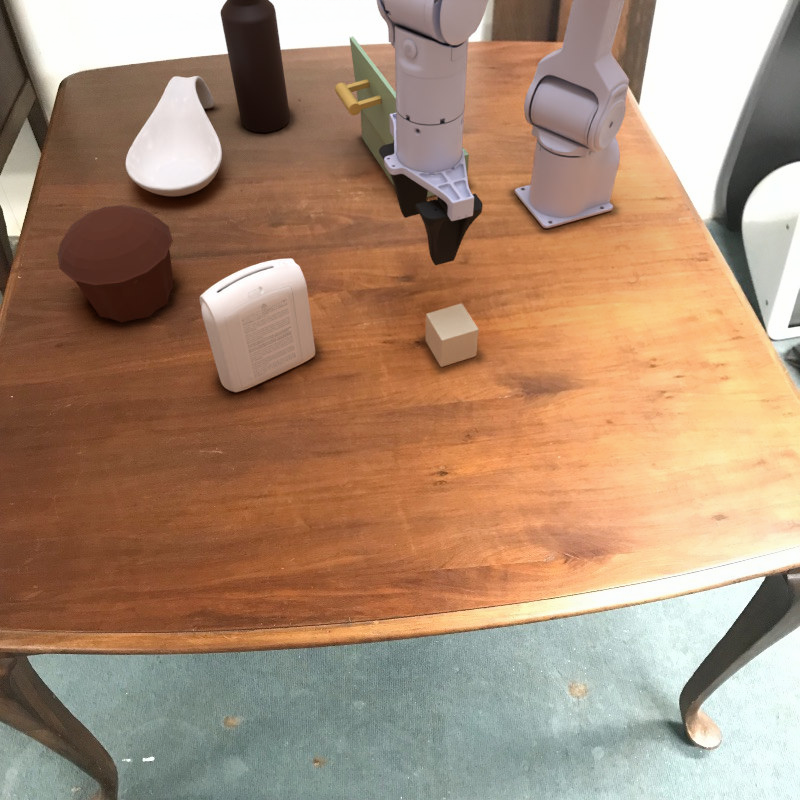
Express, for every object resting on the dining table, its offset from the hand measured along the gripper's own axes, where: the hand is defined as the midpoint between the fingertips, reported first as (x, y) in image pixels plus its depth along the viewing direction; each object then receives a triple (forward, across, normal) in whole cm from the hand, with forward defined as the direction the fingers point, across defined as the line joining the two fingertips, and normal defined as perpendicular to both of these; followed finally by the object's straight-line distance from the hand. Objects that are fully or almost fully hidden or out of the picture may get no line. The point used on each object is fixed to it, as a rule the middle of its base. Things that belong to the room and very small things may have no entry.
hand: (427, 236), depth 75 cm
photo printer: (+11, +1, -18) cm, 21 cm away
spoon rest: (+11, -39, -18) cm, 44 cm away
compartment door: (+1, -26, +5) cm, 27 cm away
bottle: (+11, -43, -6) cm, 45 cm away
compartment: (+10, -26, +9) cm, 30 cm away
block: (+10, +6, 0) cm, 12 cm away
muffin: (+11, -15, -29) cm, 34 cm away
